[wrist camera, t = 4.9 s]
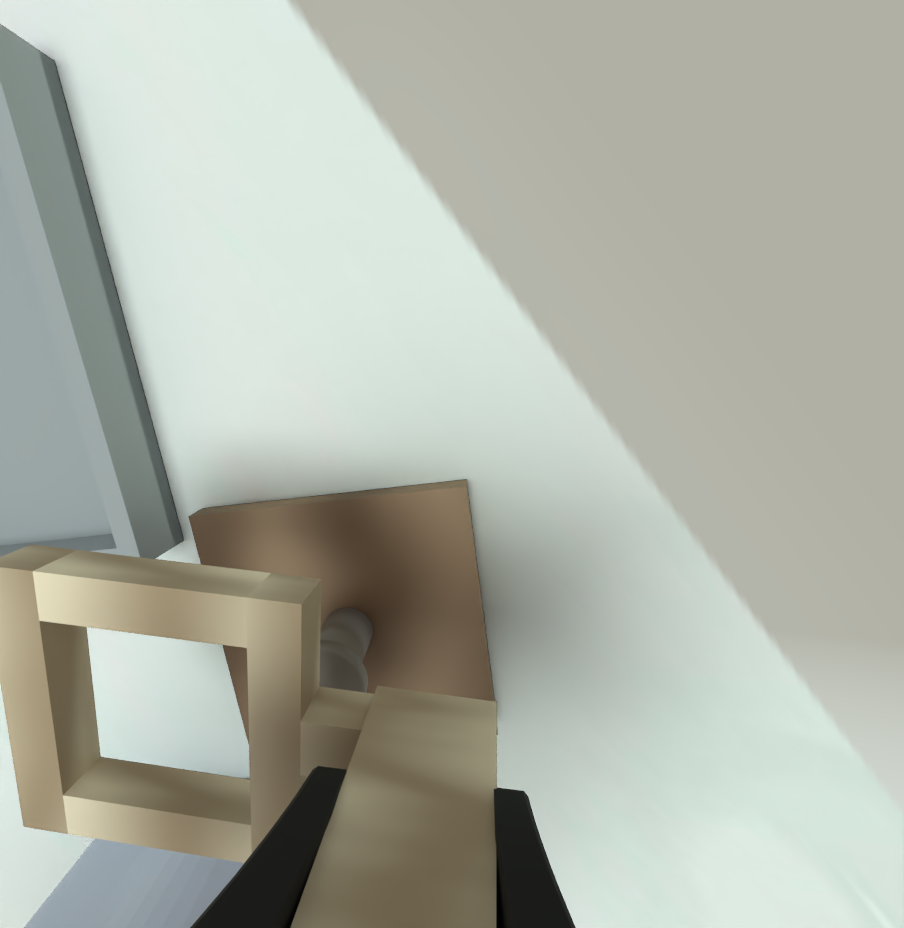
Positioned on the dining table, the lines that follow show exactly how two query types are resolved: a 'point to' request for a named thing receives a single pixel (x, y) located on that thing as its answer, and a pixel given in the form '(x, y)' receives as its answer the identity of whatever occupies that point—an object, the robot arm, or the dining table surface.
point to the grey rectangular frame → (65, 345)
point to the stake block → (369, 583)
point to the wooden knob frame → (251, 741)
